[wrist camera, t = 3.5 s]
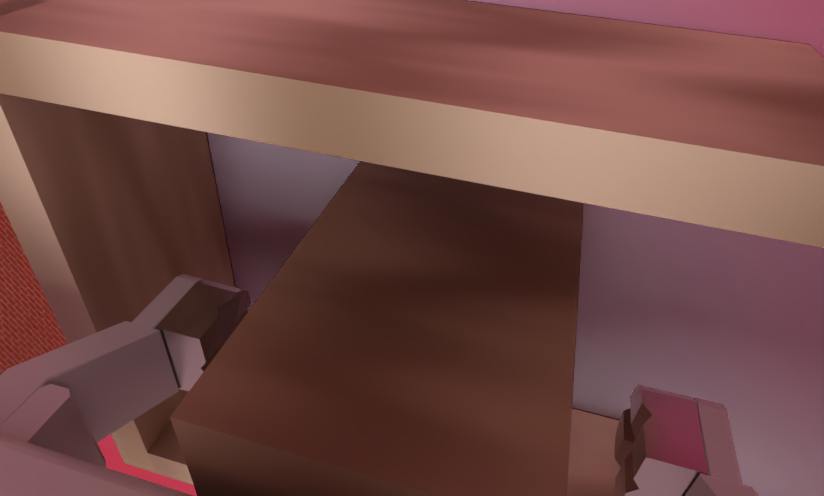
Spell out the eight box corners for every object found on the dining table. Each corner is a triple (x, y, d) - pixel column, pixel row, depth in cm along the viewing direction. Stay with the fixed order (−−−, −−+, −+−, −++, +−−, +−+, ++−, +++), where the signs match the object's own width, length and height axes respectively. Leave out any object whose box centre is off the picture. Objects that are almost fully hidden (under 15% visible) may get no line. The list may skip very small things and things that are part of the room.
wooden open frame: (809, 44, 10) (945, 186, 6) (616, 441, 17) (619, 620, 13) (133, -42, 12) (-89, 17, 8) (220, 337, 19) (124, 463, 16)
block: (584, 183, 12) (564, 534, 6) (540, 338, 15) (498, 676, 9) (372, 145, 13) (170, 417, 7) (370, 298, 16) (228, 581, 10)
